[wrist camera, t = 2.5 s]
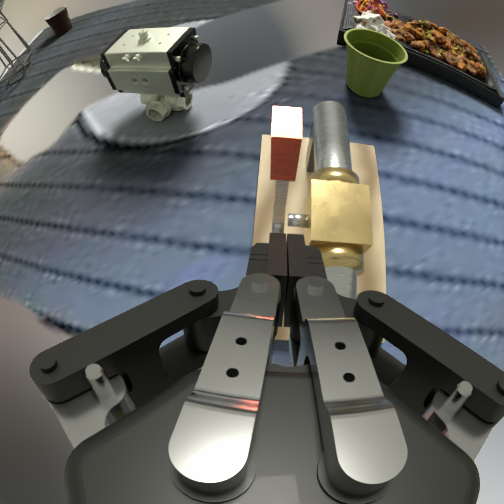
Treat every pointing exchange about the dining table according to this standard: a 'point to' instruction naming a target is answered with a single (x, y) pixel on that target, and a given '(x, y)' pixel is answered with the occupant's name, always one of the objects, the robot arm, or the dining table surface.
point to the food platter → (426, 47)
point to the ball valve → (157, 67)
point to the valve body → (335, 201)
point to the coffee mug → (59, 21)
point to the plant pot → (371, 60)
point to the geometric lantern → (0, 1)
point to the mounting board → (296, 199)
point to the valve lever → (284, 157)
